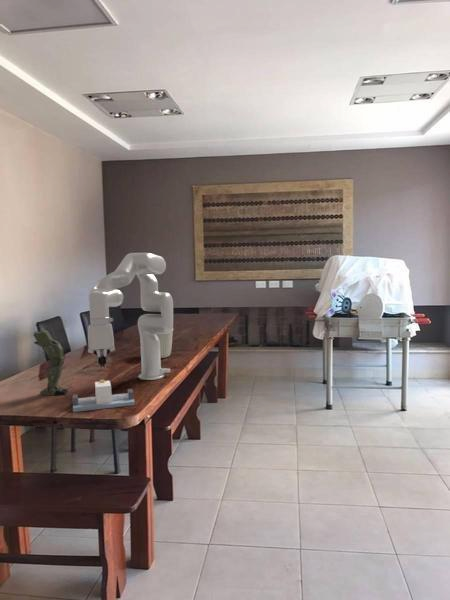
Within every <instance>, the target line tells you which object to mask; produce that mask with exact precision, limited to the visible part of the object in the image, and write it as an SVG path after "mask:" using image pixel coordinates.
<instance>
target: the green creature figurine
mask: <svg viewBox="0 0 450 600" xmlns="http://www.w3.org/2000/svg"><path fill="white" fill-rule="evenodd" d="M33 337H34V339H35V341H34V342H33V343H34V344H36V345H37V346H38V347H41V349H43V350H44V352H45V354H46V355H47V357H48V358H49V363H50V365H49V366H48V367H47V368H46V369H45V370H46V378H47V381H48V382H47V386H46V387H45V388H43V389H42V390H41V391H40V396H66V394H67V393H68V392H69V390H68V389H67V388H64V387H62V386H60V385H59V380H60V378H61V374H62V371H63V366H64V362H65V358H66V357H65V355H64V347H63V346H62V343H60V342H59V341H57V340H55V339H53V337H52V335H51V333H49V331H48V330H45V329H42V330H41V331H39V332H38V331H35V332H34V333H33Z"/></svg>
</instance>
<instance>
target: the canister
mask: <svg viewBox="0 0 450 600" xmlns="http://www.w3.org/2000/svg"><path fill="white" fill-rule="evenodd" d="M173 333H174V328H173V329H172V331H171V332H170V333H169V334H156V335H157V337H158V338H159V341H160V359H166V358H168V357H170V355H171V354H172V347H173V346H172V345H173Z"/></svg>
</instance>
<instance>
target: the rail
mask: <svg viewBox="0 0 450 600" xmlns="http://www.w3.org/2000/svg"><path fill="white" fill-rule="evenodd" d="M134 394H135V393H134V389H133V388H128V389H127V393H116V394H112V401H115V400H124V399H134V400H135V397H134V396H135V395H134ZM87 403H96V396H88V397H87V396H86V397H79V395H78V394H72V407H73V406H74V405H78V404H87Z"/></svg>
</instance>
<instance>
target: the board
mask: <svg viewBox="0 0 450 600" xmlns="http://www.w3.org/2000/svg"><path fill="white" fill-rule="evenodd" d="M135 402H136V401H135V398H134V399H124V400H115V401H112V403H104V404H96V403H87V404H78V405H74V406H73V405H72V412H73V413H75V412H84V411H85V412H86V411H94V410H101V409H113V408H120V407H122V408H123V407H129V406H135V405H136V403H135Z"/></svg>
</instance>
